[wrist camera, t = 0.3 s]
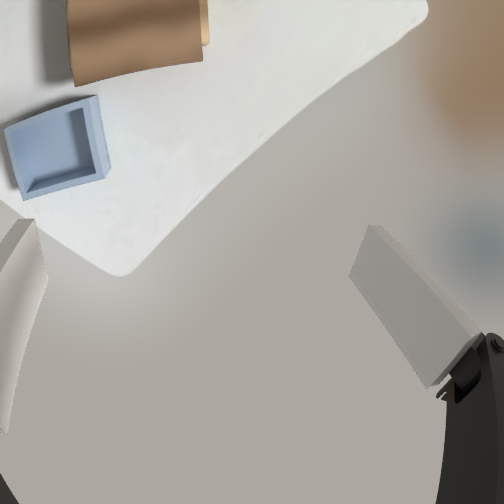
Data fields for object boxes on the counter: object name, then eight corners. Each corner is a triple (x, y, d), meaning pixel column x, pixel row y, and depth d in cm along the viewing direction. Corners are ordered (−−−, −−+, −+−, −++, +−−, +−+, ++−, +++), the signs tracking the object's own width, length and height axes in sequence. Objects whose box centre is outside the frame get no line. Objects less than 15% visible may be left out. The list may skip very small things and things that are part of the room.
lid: (75, -17, 16) (68, -22, 14) (195, -41, 18) (197, -49, 16) (82, 85, 23) (74, 87, 21) (200, 61, 25) (203, 60, 23)
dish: (18, 122, 25) (3, 129, 22) (97, 94, 27) (88, 98, 24) (35, 187, 30) (23, 201, 27) (111, 167, 32) (104, 178, 29)
